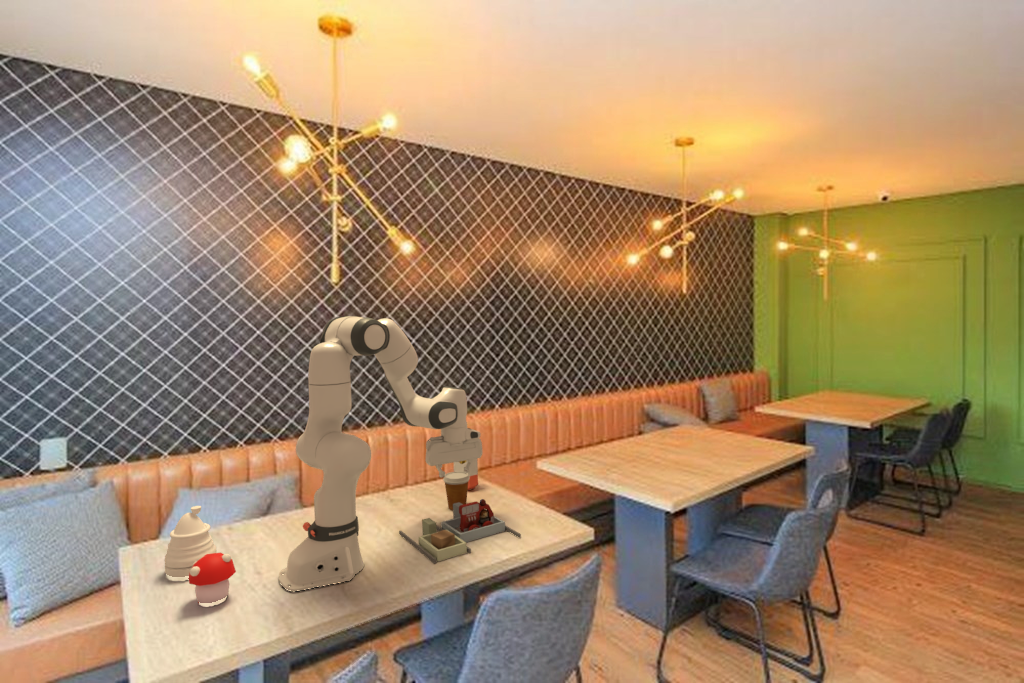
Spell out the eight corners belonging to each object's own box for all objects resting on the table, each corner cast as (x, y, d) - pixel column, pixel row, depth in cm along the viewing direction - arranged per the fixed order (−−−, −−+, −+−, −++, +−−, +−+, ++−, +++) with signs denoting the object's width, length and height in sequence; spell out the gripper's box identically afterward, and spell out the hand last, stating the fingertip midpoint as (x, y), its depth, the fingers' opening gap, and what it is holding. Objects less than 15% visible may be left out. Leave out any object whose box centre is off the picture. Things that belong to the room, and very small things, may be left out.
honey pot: (220, 557, 169) (216, 498, 167) (214, 576, 157) (210, 512, 155) (170, 565, 164) (166, 504, 163) (160, 585, 152) (156, 520, 151)
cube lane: (437, 561, 163) (436, 541, 162) (412, 541, 177) (411, 522, 177) (466, 552, 168) (466, 533, 167) (439, 533, 182) (439, 515, 182)
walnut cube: (441, 555, 166) (441, 539, 166) (431, 550, 170) (431, 534, 170) (455, 550, 170) (454, 534, 170) (444, 545, 174) (444, 529, 173)
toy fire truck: (499, 531, 183) (498, 500, 182) (466, 541, 176) (465, 508, 175) (488, 525, 189) (487, 494, 188) (455, 534, 182) (454, 502, 181)
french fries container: (468, 492, 221) (467, 447, 220) (453, 486, 229) (451, 442, 228) (478, 490, 224) (477, 445, 223) (462, 483, 232) (461, 440, 231)
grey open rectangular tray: (460, 544, 174) (459, 525, 174) (434, 526, 189) (434, 508, 188) (505, 530, 183) (504, 512, 183) (477, 514, 198) (477, 497, 198)
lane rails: (434, 563, 161) (434, 559, 161) (399, 534, 182) (399, 530, 182) (520, 537, 178) (520, 533, 178) (479, 513, 199) (479, 510, 199)
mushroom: (179, 611, 139) (176, 564, 138) (205, 589, 149) (202, 544, 149) (221, 611, 138) (219, 564, 137) (245, 589, 149) (242, 544, 148)
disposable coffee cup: (472, 510, 202) (471, 477, 201) (445, 513, 200) (444, 480, 199) (468, 501, 211) (467, 470, 210) (442, 504, 209) (441, 472, 208)
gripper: (430, 439, 183) (430, 482, 183) (484, 432, 194) (484, 472, 195) (421, 436, 188) (422, 477, 189) (475, 429, 199) (475, 467, 200)
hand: (454, 474), depth 192 cm, fingers open, 8 cm apart
